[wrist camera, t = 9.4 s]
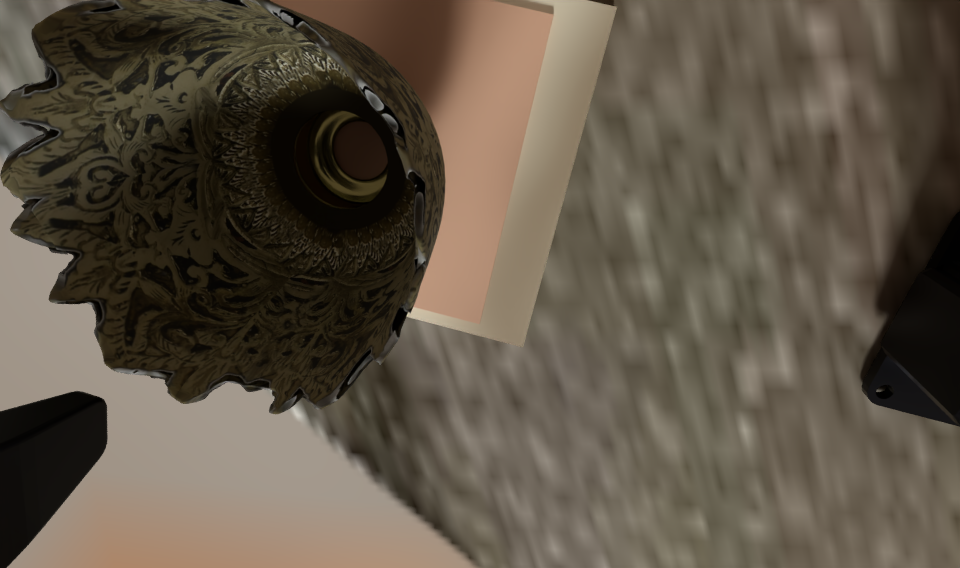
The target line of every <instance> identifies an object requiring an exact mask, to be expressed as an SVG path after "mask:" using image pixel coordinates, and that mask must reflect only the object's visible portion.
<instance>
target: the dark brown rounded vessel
mask: <svg viewBox="0 0 960 568" xmlns="http://www.w3.org/2000/svg"><path fill="white" fill-rule="evenodd" d="M32 40H33V42H34V45H35V48H36V50H37V53H38V55H39V57H40V58H41V59H42V60H43V63H44V66H45V77H46V80H45V81H41V82H39V83H35V84H33V83H31V84H25V85H23V86H21V87H20V88H18V89H15V90H12V91H11V92H10V93H9V94H8V95H7V97H6V98H4V99H3V100H1V101H0V109H1V111H2V112H4V113H6V114H7V115H8V116H9V117H10V119H11V120H13V121H14V122H19V123H20V124H22V125H23V126H27V127H29V126H30V127H33V128H34V129H36V130H38V131H43V133H44V134H42V135H40V136H37V137H36V138H34V139H31V140H30V141H29V142H26V143H25V144H23V145H22V146H21V147H19V148H18V149H16V150H14V151H13V152H12V153H10V154H9V155H8V157H7V159H6V161H5V163H4V165H3V167H2V170H1V175H0V176H1V180H2V183H3V186H5V187H7V188H8V189H9V190H10V192H11V193H12V195H13V196H14V197H17V198H20V199H21V200H22V201H23V202H24V203H25V204H23V205H22V207H23V208H24V211H23V212H22V213H21V214H20V215H19V216H18V217H17V219H16V220H15V221H14V222H13V224H12V227H11V229H10V230H11V232H13V233H14V234H15V235H17V236H19V237H21V238H23V239H26V240H28V241H30V242H33V243H36V244H39V245H42V246H46V247H48V248H49V249H50V251H51V252H53V253H60V254H67V253H69V254H72V255H73V256H74V258H73V259H72V261H70V262H69V264H68V266H67V267H66V268H65V269H64V270H63V271H62V272H60V273H59V275H58V279H57V281H56V284H55V285H54V287H53V289H52V291H51V292H50V295H49V301H50V302H52V303H58V304H81V303H88V304H90V305H92V307H93V309H94V311H95V314H96V328H95V330H94V334H95V336H96V338H97V340H98V343H99V345H100V347H101V350H102V353H103V358H104V362H105V364H106V366H108V367H109V368H111V369H113V370H114V371H116V372H121V373H126V374H135V375H147V376H150V377H151V378H160V379H164V380H165V382H166V383H165V384H166V386H167V387H168V393H169V394H170V395H171V396H172V397H173V398H175V399H176V400H178V401H179V402H180V403H183V404H189V403H193V402H197V401H201V400H203V399H205V398H206V397H207V396H208V394H209V393H210V392H212V390H214V389H216V388H218V387H220V386H221V385H223V384H225V383H226V382H231V383H235V384H240V385H241V386H242V387H243V388H244V389H245V390H246V391H247V392H253V391H258V390H262V389H266V390H268V389H271V390H272V395H273V396H275V399H274V401H273V403H272V404H271V406H270V409H269V413H272V414H279V413H282V412H284V411H286V410H288V409H290V408H291V407H293V406H294V405H295V404H296V403H297V402H298V401H299V400H300V399H301V398H302V397H303V398H305V399H306V400H307V401H308V402H310V403H311V404H313V406H314V408H315V409H323V408H325V407H327V406H329V405H331V404H332V403H334V402H335V401H337V400H338V399H339V398H340V397H341V396H343V395H344V393H345V392H346V391H347V390H348V389H349V388H350V387H351V386H352V384H353V383H354V382H355V380H356V379H357V378H358V377H359V375H360V374H361V372H362V371H363V370H364V369H365V368H366V367H367V365H368V364H369V363H370V362H371V361H372V360H375V361H377V362H378V363H379V364H380V365H381V364H382V362H383V361H384V360H385V358H386V357H387V356H388V354H389V353H390V351H391V350H392V348H393V347H394V345H395V344H396V342H397V340H398V339H399V337H400V332H401V328H402V326H403V323H404V321H405V319H406V316H407V314H408V312H409V313H411V311H412V309H413V306H414V304H415V302H416V299H417V296H418V293H419V289H420V286H421V283H422V280H423V277H424V275H425V272H426V269H427V266H428V263H429V261H430V258H431V255H432V252H433V248H434V245H435V242H436V239H437V235H438V232H439V228H440V224H441V220H442V214H443V208H444V201H445V182H446V181H445V165H444V160H443V154H442V149H441V145H440V141H439V138H438V134H437V132H436V129H435V127H434V124H433V122H432V119H431V117H430V115H429V113H428V111H427V109H426V108H425V106H424V104H423V102H422V100H421V99H420V98H419V96H418V95H417V93H416V92H415V90H414V89H413V87H412V86H411V85H410V84H409V82H408V81H407V80H406V79H405V78H404V76H403V75H402V74H401V73H400V72H399V71H398V70H397V69H396V68H395V67H394V66H393V65H392V64H390V63H389V62H388V61H387V60H386V59H384V58H383V57H382V56H381V55H379V54H378V53H377V52H375V51H374V50H373V49H371V48H370V47H368V46H367V45H365V44H363V43H362V42H360V41H359V40H357V39H355V38H354V37H352V36H350V35H348V34H346V33H344V32H342V31H340V30H338V29H335V28H333V27H331V26H329V25H327V24H325V23H322V22H320V21H318V20H315V19H313V18H311V17H308V16H306V15H303V14H301V13H299V12H296V11H294V10H291V9H289V8H286V7H284V6H281V5H279V4H276V3H274V2H272V1H270V0H92V1H84V2H80V3H77V4H74V5H71V6H68V7H66V8H64V9H62V10H59V11H57V12H55V13H53V14H52V15H50V16H48V17H47V18H45V19H44V20H43V21H41V22H40V23H38V24H36V25H35V27H34V28H33V29H32ZM352 122H366V123H369V124H370V125H371V126H372V127H373V128H374V130H375V131H376V132H377V134H378V135H379V137H380V138H381V140H382V142H383V145H384V147H385V150H386V154H387V160H388V162H387V165H386V167H385V169H384V170H383V171H382V172H381V173H380V174H379V175H378V176H376V177H374V178H371V179H357V178H354V177H352V176H350V175H348V174H347V173H346V172H345V171H344V170H343V169H342V168H341V167H340V166H339V164H338V162H337V160H336V157H335V153H334V142H335V138H336V136H337V134H338V132H339V131H340V130H341V129H342V128H343V127H344V126H345V125H347V124H349V123H352ZM40 125H43V126H46V127H49V128H50V130H49V131H47V129H46V128H44V127H42V126H40ZM306 397H307V398H308V399H307V398H306Z"/></svg>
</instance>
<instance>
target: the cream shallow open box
mask: <svg viewBox="0 0 960 568" xmlns="http://www.w3.org/2000/svg"><path fill="white" fill-rule="evenodd" d="M270 1H272V2H274V3H276V4H279V5H281V6H284V7H286V8H289V9H291V10H294V11H296V12H299V13H301V14H303V15H306V16H308V17H311V18H313V19H315V20H318V21H320V22H322V23H325V24H327V25H329V26H331V27H333V28H335V29H338V30H340V31H342V32H344V33H346V34H348V35H350V36H352V37H354V38H355V39H357V40H359V41H360V42H362V43H363V44H365V45H367V46H368V47H370V48H371V49H373V50H374V51H375V52H377V53H378V54H379V55H381V56H382V57H383V58H384V59H386V60H387V61H388V62H389V63H390V64H392V65H393V66H394V67H395V68H396V69H397V70H398V71H399V72H400V73H401V74H402V75H403V76H404V78H405V79H406V80H407V81H408V82H409V84H410V85H411V86H412V87H413V89H414V90H415V92H416V93H417V95H418V96H419V98H420V99H421V100H422V102H423V104H424V106H425V108H426V109H427V111H428V113H429V115H430V117H431V119H432V122H433V124H434V127H435V129H436V132H437V134H438V138H439V141H440V145H441V149H442V154H443V160H444V165H445V181H446V182H445V201H444V208H443V214H442V220H441V224H440V228H439V232H438V235H437V239H436V242H435V245H434V248H433V252H432V255H431V258H430V261H429V263H428V266H427V269H426V272H425V275H424V277H423V280H422V283H421V286H420V289H419V293H418V296H417V299H416V302H415V304H414V306H413V309H412V311H411V313H409V312H408V314H407V316H406V317H410V318H414V319H417V320H421V321H425V322H429V323H433V324H436V325H440V326H444V327H448V328H452V329H455V330H459V331H463V332H467V333H471V334H474V335H478V336H482V337H486V338H489V339H493V340H497V341H501V342H505V343H508V344H512V345H516V346H520V347H523V345H524V341H525V338H526V334H527V330H528V327H529V323H530V320H531V316H532V312H533V309H534V305H535V302H536V298H537V294H538V291H539V287H540V283H541V280H542V276H543V273H544V269H545V265H546V262H547V258H548V255H549V251H550V247H551V244H552V240H553V237H554V233H555V229H556V226H557V222H558V218H559V215H560V211H561V208H562V204H563V200H564V197H565V193H566V190H567V186H568V182H569V179H570V175H571V172H572V168H573V164H574V161H575V157H576V153H577V150H578V146H579V143H580V139H581V135H582V132H583V128H584V125H585V121H586V117H587V114H588V110H589V107H590V103H591V99H592V96H593V92H594V88H595V85H596V81H597V78H598V74H599V70H600V67H601V63H602V60H603V56H604V52H605V49H606V45H607V42H608V38H609V34H610V31H611V27H612V23H613V20H614V16H615V13H616V9H617V7H615V6H610V5H606V4H601V3H597V2H593V1H588V0H270ZM334 153H335V157H336V160H337V162H338V164H339V166H340V167H341V168H342V169H343V170H344V171H345V172H346V173H347V174H348V175H350V176H352V177H354V178H357V179H371V178H374V177H376V176H378V175H379V174H380V173H381V172H382V171H383V170H384V169H385V167H386V165H387V162H388V160H387V154H386V150H385V147H384V145H383V142H382V140H381V138H380V137H379V135H378V134H377V132H376V131H375V130H374V128H373V127H372V126H371V125H370V124H369V123H366V122H352V123H349V124H347V125H345V126H344V127H343V128H342V129H341V130H340V131H339V132H338V134H337V136H336V138H335V142H334Z"/></svg>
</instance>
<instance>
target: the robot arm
mask: <svg viewBox="0 0 960 568" xmlns="http://www.w3.org/2000/svg"><path fill="white" fill-rule="evenodd" d="M881 346H882V348H881V350H880V352H879V353H878V355H877V357H876V359H875V361H874V362H873V364H872V366H871V368H870V370H869V372H868V373H867V375H866V377H865V379H864V381H863V383H862V391H863V393H864V394H865V395H866V396H867V397H868V399H869V400H870V401H871V402H872V403H874V404H876V405H879V406H883V407H887V408H891V409H895V410H898V411H902V412H906V413H910V414H914V415H918V416H921V417H925V418H929V419H933V420H937V421H941V422H944V423H948V424H952V425H956V426H960V212H958V213H957V214H956V216H955V217H954V218H953V220H952V221H951V223H950V225H949V227H948V229H947V230H946V232H945V234H944V236H943V238H942V239H941V241H940V243H939V245H938V247H937V249H936V250H935V252H934V254H933V256H932V258H931V259H930V261H929V263H928V265H927V267H926V268H925V270H924V271H923V272H921V273H920V274H919V275H918V276H917V278H916V280H915V282H914V284H913V285H912V287H911V289H910V291H909V293H908V294H907V296H906V298H905V300H904V302H903V304H902V305H901V307H900V309H899V311H898V313H897V314H896V316H895V318H894V320H893V322H892V324H891V325H890V327H889V329H888V331H887V333H886V334H885V336H884V338H883V340H882V342H881ZM883 385H888V386H887V388H886V389H885V390H884V391H881V392H876V390H877V389H878V388H879V387H880V386H883ZM106 444H107V405H106V403H105V401H104V399H102V398H100V397H97V396H94V395H91V394H88V393H85V392H80V391H75V392H70V393H66V394H63V395H59V396H55V397H52V398H48V399H44V400H41V401H37V402H33V403H30V404H26V405H22V406H19V407H15V408H11V409H8V410H4V411H0V568H7V566H9V565H10V564H11V563H12V561H13V560H14V559H15V558H16V557H17V556H18V555H19V554H20V553H21V552H22V551H23V550H24V549H25V548H26V547H27V545H29V543H30V542H31V541H32V540H33V539H34V538H35V536H36V535H37V534H38V533H39V532H40V531H41V529H42V528H43V527H44V526H45V525H46V523H47V522H48V521H49V520H50V519H51V517H52V516H53V515H54V514H55V512H56V511H57V510H58V509H59V508H60V506H61V505H62V504H63V502H64V501H65V500H66V499H67V498H68V497H69V495H70V494H71V493H72V492H73V490H74V489H75V488H76V486H78V484H79V483H80V482H81V481H82V479H83V478H84V477H85V475H87V473H88V472H89V471H90V470H91V468H92V467H93V466H94V465H95V463H96V462H97V461H98V460H99V458H100V457H101V456H102V454H103V452H104V450H105V448H106Z"/></svg>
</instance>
